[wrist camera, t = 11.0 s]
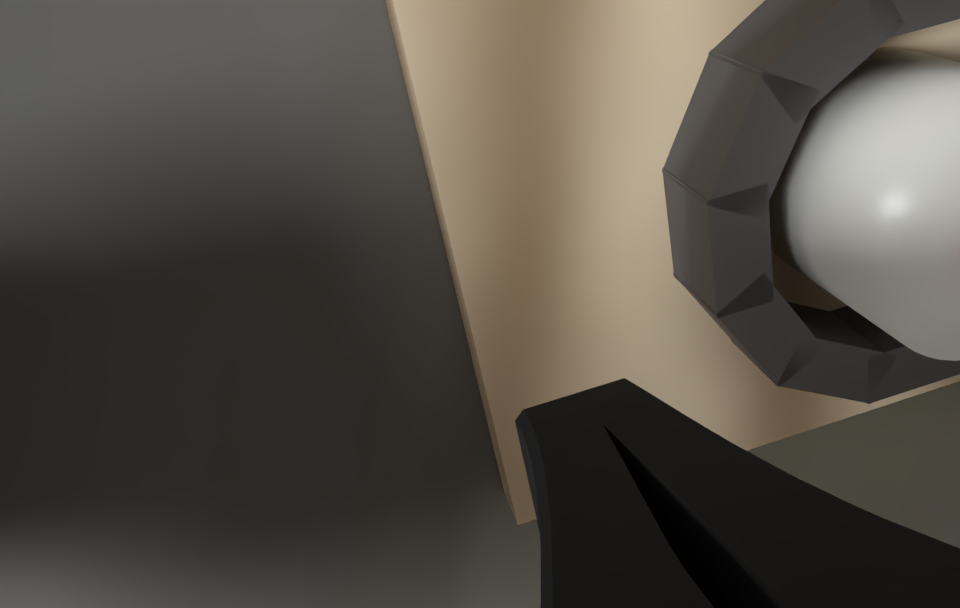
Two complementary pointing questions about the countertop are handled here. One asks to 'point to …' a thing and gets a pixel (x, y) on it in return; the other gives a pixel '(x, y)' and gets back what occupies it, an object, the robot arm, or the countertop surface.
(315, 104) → the countertop surface
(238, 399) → the countertop surface
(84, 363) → the countertop surface
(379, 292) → the countertop surface
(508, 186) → the board
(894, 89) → the cap
